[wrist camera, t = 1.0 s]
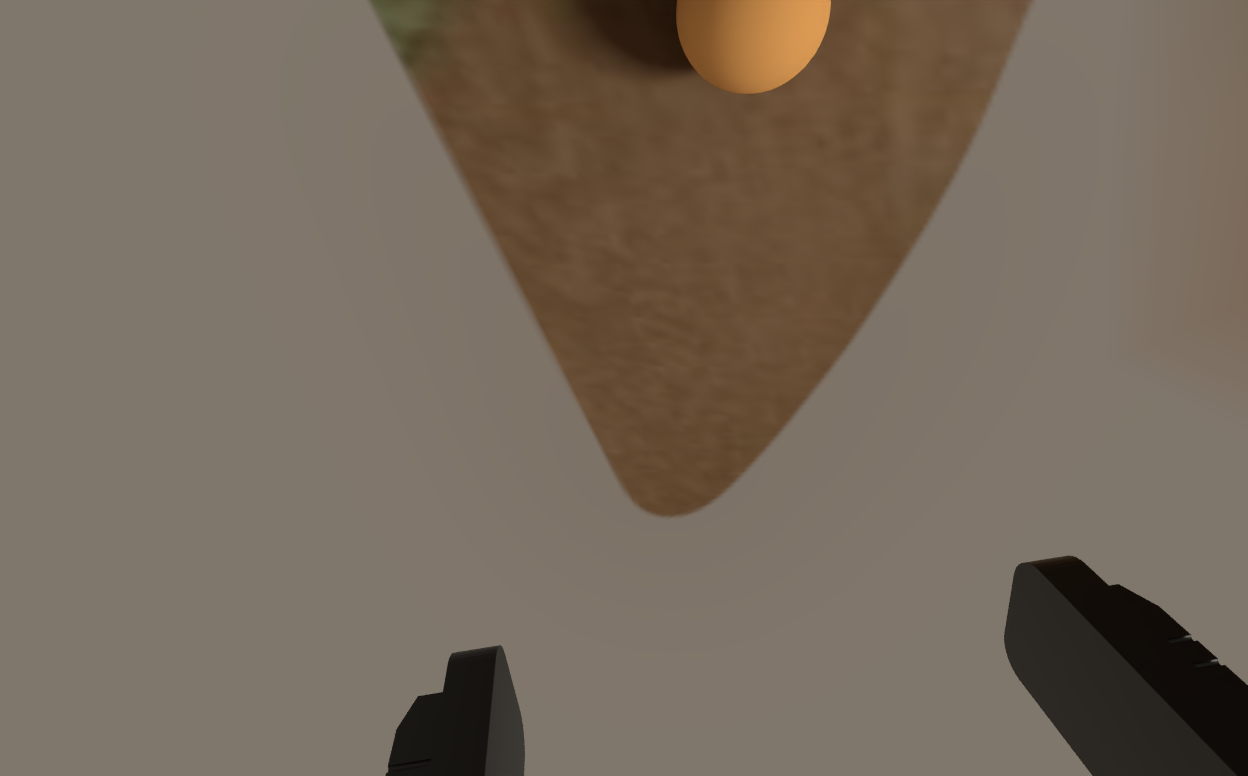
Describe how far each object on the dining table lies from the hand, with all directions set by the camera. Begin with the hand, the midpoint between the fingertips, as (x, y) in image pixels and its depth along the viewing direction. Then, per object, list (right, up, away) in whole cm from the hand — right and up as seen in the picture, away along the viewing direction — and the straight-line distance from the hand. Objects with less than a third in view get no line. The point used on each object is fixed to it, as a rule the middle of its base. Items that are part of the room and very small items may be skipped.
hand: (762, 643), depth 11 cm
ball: (+2, +16, +12) cm, 21 cm away
